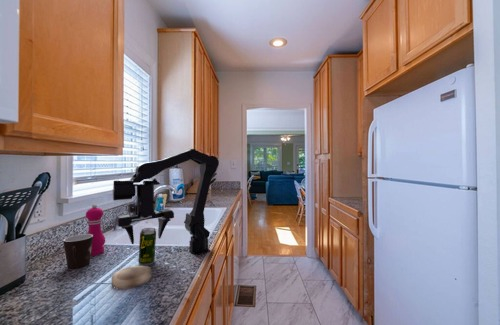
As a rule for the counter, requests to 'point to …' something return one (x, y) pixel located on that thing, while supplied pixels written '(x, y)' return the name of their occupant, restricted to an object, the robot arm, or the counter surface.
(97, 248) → the pepper mill
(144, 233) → the beer can
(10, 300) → the counter surface
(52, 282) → the counter surface
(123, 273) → the plate
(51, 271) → the counter surface
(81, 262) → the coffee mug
